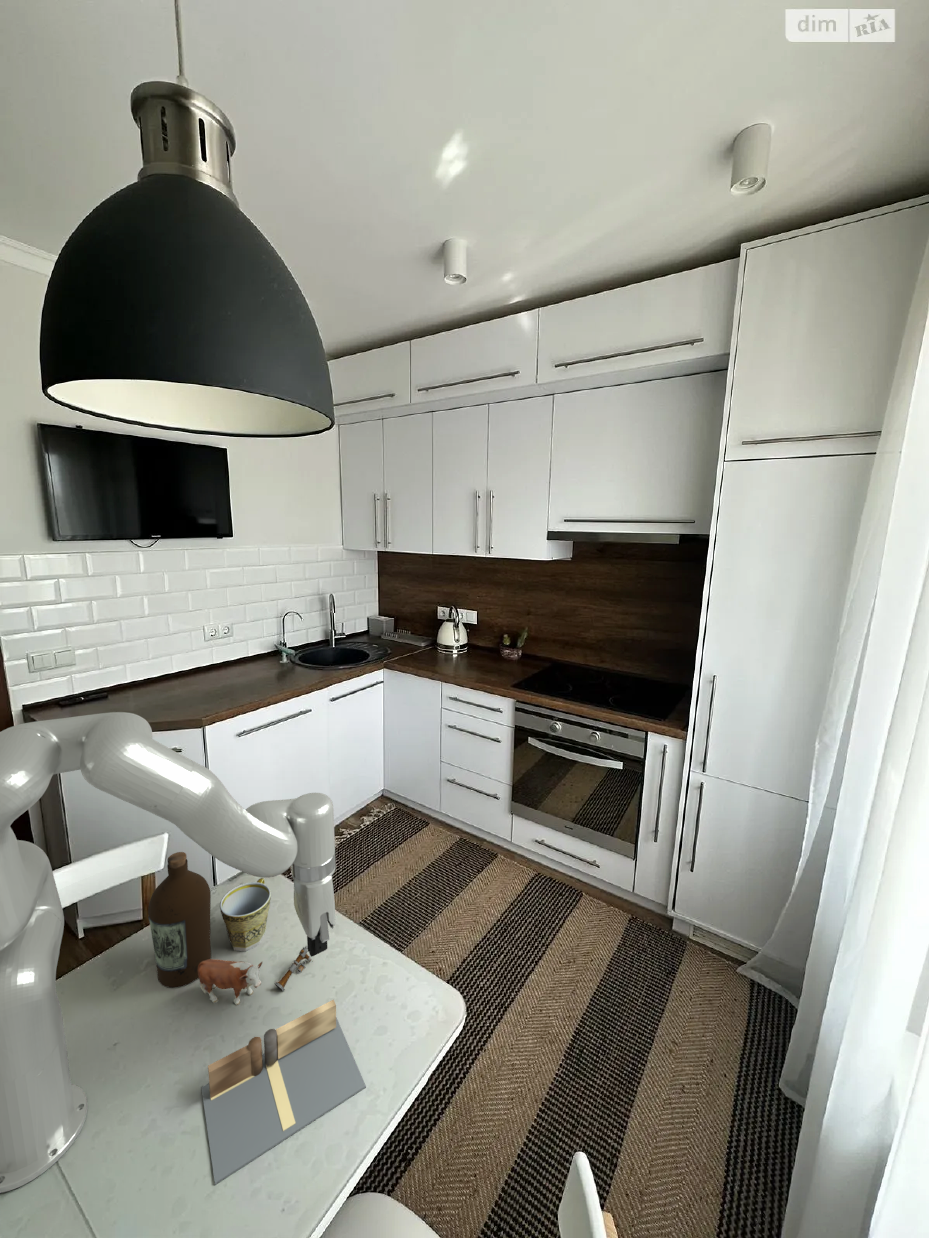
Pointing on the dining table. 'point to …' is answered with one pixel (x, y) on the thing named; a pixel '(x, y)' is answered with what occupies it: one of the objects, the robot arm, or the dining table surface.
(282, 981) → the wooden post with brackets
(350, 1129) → the dining table surface
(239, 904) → the ceramic cup
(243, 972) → the bull figurine
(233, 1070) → the fence section
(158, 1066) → the dining table surface
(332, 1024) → the tan wooden board
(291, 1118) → the card
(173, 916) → the olive oil
